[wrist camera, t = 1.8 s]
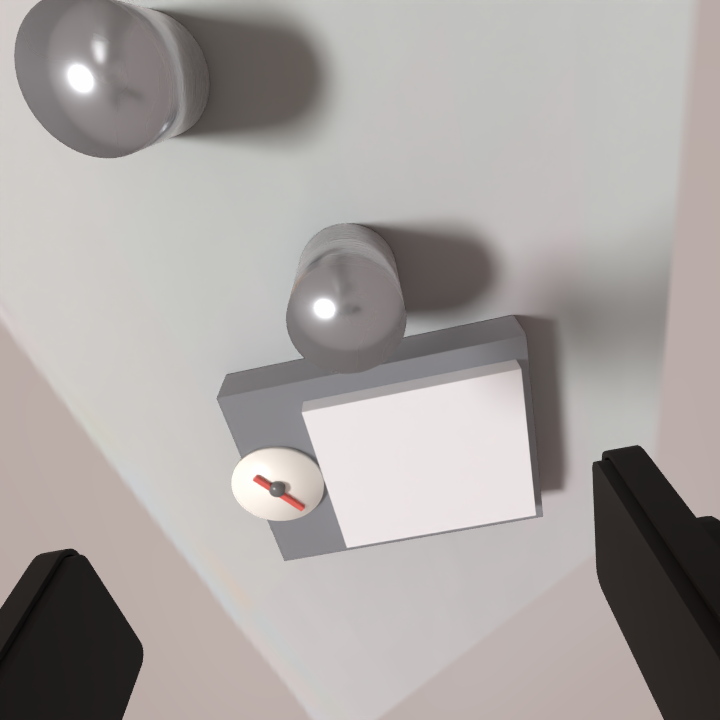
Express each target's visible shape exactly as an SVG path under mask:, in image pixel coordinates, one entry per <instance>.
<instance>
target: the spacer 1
mask: <svg viewBox="0 0 720 720" xmlns="http://www.w3.org/2000/svg"><path fill="white" fill-rule="evenodd" d="M14 57H15V69H16V75H17V79H18V83H19V86H20V89H21V91H22V94H23V96H24V99H25V101H26V102H27V104H28V106H29V108H30V110H31V111H32V113H33V114H34V116H35V117H36V118H37V120H38V121H39V122H40V123H41V124H42V126H43V127H44V128H45V129H46V130H47V131H48V132H49V133H50V134H51V135H52V136H54V137H55V138H56V139H57V140H59V141H60V142H62V143H63V144H65V145H66V146H68V147H70V148H72V149H74V150H76V151H78V152H80V153H83V154H86V155H89V156H93V157H99V158H117V157H123V156H126V155H129V154H132V153H134V152H137V151H139V150H142V149H144V148H147V147H149V146H152V145H154V144H157V143H159V142H162V141H164V140H166V139H169V138H171V137H174V136H176V135H179V134H181V133H183V132H185V131H187V130H188V129H190V128H191V127H192V126H193V125H194V124H195V123H196V122H197V121H198V120H199V118H200V117H201V116H202V114H203V112H204V110H205V108H206V105H207V102H208V98H209V91H210V77H209V70H208V66H207V62H206V60H205V57H204V54H203V52H202V50H201V48H200V46H199V45H198V43H197V41H196V40H195V38H194V37H193V36H192V35H191V33H190V32H189V31H188V30H187V29H186V28H185V27H184V26H183V25H182V24H180V23H179V22H178V21H176V20H175V19H173V18H172V17H170V16H168V15H166V14H164V13H162V12H159V11H155V10H151V9H148V8H144V7H140V6H136V5H133V4H129V3H125V2H121V1H117V0H42V1H40V2H39V3H38V4H36V5H35V6H34V7H33V8H32V9H31V10H30V11H29V13H28V14H27V15H26V16H25V18H24V20H23V22H22V24H21V26H20V28H19V31H18V34H17V38H16V43H15V54H14Z"/></svg>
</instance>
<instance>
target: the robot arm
mask: <svg viewBox="0 0 720 720" xmlns="http://www.w3.org/2000/svg"><path fill="white" fill-rule="evenodd" d="M592 471H593V496H594V521H595V546H596V569H597V575H598V579H599V583H600V586H601V589H602V591H603V593H604V595H605V597H606V600H607V601H608V604H609V606H610V608H611V610H612V612H613V614H614V616H615V618H616V620H617V622H618V625H619V627H620V629H621V631H622V633H623V635H624V637H625V639H626V641H627V643H628V645H629V648H630V650H631V652H632V654H633V656H634V658H635V660H636V662H637V664H638V666H639V668H640V670H641V673H642V675H643V677H644V679H645V681H646V683H647V685H648V687H649V689H650V691H651V694H652V696H653V698H654V700H655V702H656V704H657V706H658V708H659V710H660V712H661V714H662V717H663V719H664V720H720V521H719V520H718V519H716V518H714V517H712V516H705V517H699V518H696V517H695V515H694V514H693V513H692V511H691V510H690V509H689V508H688V506H687V505H686V504H685V502H684V501H683V500H682V498H681V497H680V496H679V495H678V494H677V492H676V491H675V490H674V488H673V487H672V486H671V484H670V483H669V482H668V480H667V479H666V478H665V477H664V475H663V474H662V472H661V471H660V470H659V469H658V467H657V466H656V465H655V463H654V462H653V461H652V459H651V458H650V457H649V456H648V454H647V453H646V452H645V450H644V449H643V448H642V447H641V446H638V445H636V446H630V447H625V448H619V449H614V450H608V451H604V452H603V454H602V461H596V462H593V467H592ZM142 662H143V647H142V644H141V642H140V640H139V639H138V637H137V636H136V634H135V633H134V631H133V629H132V628H131V626H130V625H129V623H128V622H127V620H126V618H125V617H124V615H123V614H122V612H121V611H120V609H119V607H118V606H117V604H116V603H115V601H114V600H113V598H112V597H111V595H110V594H109V592H108V590H107V589H106V587H105V586H104V584H103V582H102V581H101V579H100V578H99V576H98V575H97V573H96V572H95V570H94V568H93V567H92V565H91V564H90V562H89V561H88V559H87V558H86V557H85V556H83V555H80V554H79V553H78V552H77V551H76V550H74V549H65V550H59V551H53V552H48V553H43V554H40V555H38V556H36V557H35V558H34V559H33V561H32V562H31V563H30V565H29V566H28V568H27V570H26V571H25V572H24V574H23V575H22V577H21V579H20V580H19V582H18V583H17V585H16V586H15V588H14V589H13V591H12V592H11V594H10V595H9V597H8V598H7V600H6V601H5V603H4V604H3V606H2V607H1V609H0V720H122V718H123V716H124V713H125V710H126V707H127V705H128V702H129V699H130V695H131V693H132V691H133V688H134V685H135V682H136V680H137V677H138V674H139V671H140V668H141V666H142Z"/></svg>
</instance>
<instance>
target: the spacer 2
mask: <svg viewBox="0 0 720 720" xmlns="http://www.w3.org/2000/svg"><path fill="white" fill-rule="evenodd" d="M286 323H287V329H288V333H289V336H290V339H291V341H292V343H293V345H294V346H295V348H296V349H297V350H298V352H299V353H300V354H301V355H302V356H303V357H304V358H305V359H306V360H308V361H309V362H310V363H312V364H313V365H315V366H317V367H319V368H321V369H323V370H327V371H330V372H334V373H342V374H353V373H360V372H363V371H367V370H370V369H372V368H375V367H376V366H378V365H380V364H382V363H383V362H384V361H386V360H387V359H388V358H389V357H390V356H391V355H392V354H393V353H394V352H395V351H396V349H397V348H398V346H399V345H400V343H401V341H402V339H403V336H404V333H405V328H406V310H405V305H404V300H403V296H402V291H401V286H400V281H399V277H398V272H397V267H396V262H395V259H394V255H393V253H392V250H391V248H390V247H389V245H388V244H387V242H386V241H385V240H384V239H383V238H382V237H381V236H380V235H379V234H378V233H376V232H375V231H373V230H371V229H370V228H368V227H365V226H362V225H358V224H351V223H342V224H336V225H333V226H330V227H327V228H325V229H323V230H322V231H320V232H318V233H317V234H316V235H315V236H314V237H313V238H312V239H311V240H310V241H309V242H308V244H307V245H306V246H305V248H304V250H303V253H302V256H301V259H300V262H299V266H298V270H297V274H296V277H295V281H294V285H293V288H292V292H291V296H290V300H289V303H288V308H287V313H286Z"/></svg>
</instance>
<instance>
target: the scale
mask: <svg viewBox="0 0 720 720" xmlns="http://www.w3.org/2000/svg"><path fill="white" fill-rule="evenodd" d="M217 400H218V403H219V405H220V408H221V410H222V412H223V415H224V417H225V420H226V422H227V424H228V427H229V429H230V432H231V434H232V436H233V439H234V441H235V444H236V446H237V448H238V451H239V453H240V456H241V458H242V459H241V460H240V461H239V462H238V464H237V465H236V467H235V470H234V473H233V476H232V491H233V494H234V496H235V498H236V500H237V501H238V502H239V504H240V505H241V506H242V507H243V508H244V509H246V510H247V511H248V512H250V513H252V514H254V515H256V516H258V517H261V518H264V519H267V520H268V523H269V525H270V527H271V530H272V532H273V535H274V537H275V539H276V542H277V544H278V547H279V549H280V551H281V554H282V556H283V558H284V561H288V560H294V559H299V558H305V557H311V556H317V555H323V554H329V553H334V552H340V551H346V550H352V549H358V548H363V547H369V546H375V545H381V544H387V543H392V542H398V541H404V540H410V539H416V538H422V537H427V536H433V535H439V534H445V533H451V532H456V531H462V530H468V529H474V528H480V527H486V526H491V525H497V524H503V523H509V522H515V521H520V520H526V519H532V518H538V517H543V511H542V500H541V489H540V478H539V468H538V457H537V446H536V435H535V424H534V414H533V403H532V392H531V381H530V370H529V360H528V349H527V338H526V334H525V332H524V331H523V329H522V328H521V326H520V325H519V323H518V321H517V320H516V318H515V317H514V315H511V316H506V317H501V318H496V319H492V320H487V321H482V322H477V323H472V324H468V325H463V326H458V327H453V328H448V329H444V330H439V331H434V332H429V333H424V334H420V335H415V336H410V337H405V338H403V339H402V341H401V343H400V345H399V346H398V348H397V349H396V351H395V352H394V353H393V354H392V355H391V356H390V357H389V358H388V359H387V360H386V361H384V362H383V363H382V364H380V365H378V366H376V367H375V368H372V369H370V370H367V371H363V372H360V373H353V374H342V373H334V372H330V371H327V370H323V369H321V368H319V367H317V366H315V365H313V364H312V363H310V362H309V361H308V360H306V359H305V358H304V359H300V360H295V361H290V362H285V363H280V364H275V365H271V366H266V367H261V368H256V369H251V370H247V371H242V372H237V373H232V374H227V375H226V377H225V379H224V382H223V384H222V387H221V389H220V391H219V394H218V396H217Z"/></svg>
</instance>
